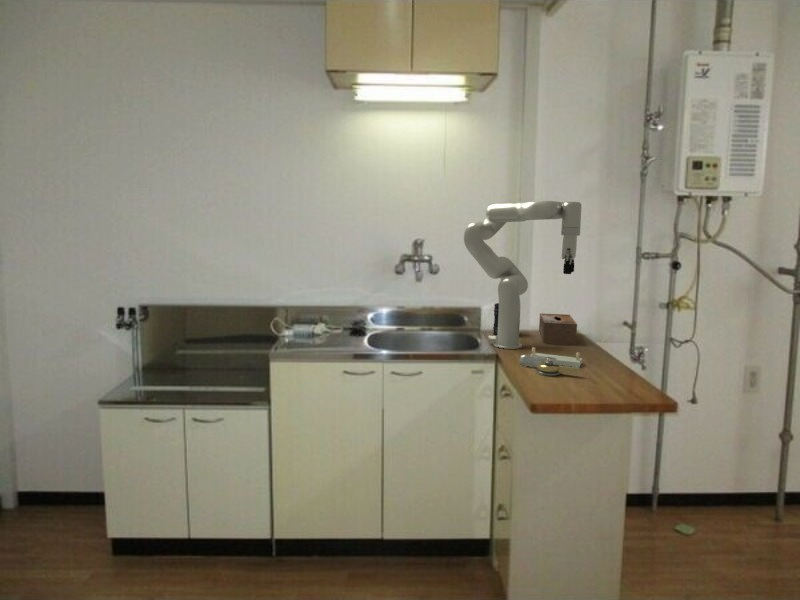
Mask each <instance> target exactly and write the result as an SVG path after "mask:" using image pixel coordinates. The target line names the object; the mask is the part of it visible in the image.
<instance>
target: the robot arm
mask: <svg viewBox="0 0 800 600" xmlns="http://www.w3.org/2000/svg"><path fill="white" fill-rule="evenodd" d="M485 215H486V218H484V219H483V221H474V222H471V223H470V224H468V225H467V226H466V228H465V230H464V233H463V241H464V242H463V243H464V245H465V248H466V249H467V251H468V253H470V255H471V256H472V257H473V259H475V261H476V262H477V263H478V265H479V266H480V267H481V268H482V270H483V271H484V272H485V273H486V274H487V276H489V278H492V279H496V280H497V279H500V280H499V283H498V285H497V297H498V303H499V314H498V335H496V336H495V335H491V334H490V335H488V337H487V339H488V340H489V341H494V342H493V346H494V347H496V348H498V347H499V348H498V349H503V348H504V349H505V350H506V349H507V350H517V349H522V348H523V344H522V343H521V342H520V327H521V326H520V323H521V298H520V296H522V295H523V294H525V293H526V292H527V291H528V288H529V283H528V280H527V278H526V276H525V275H524V274H523V273H522V271H521V270H520V269H519V268H518V267H517V266H516V264H515V263H514V262H513V261H512V260H511V259H509V258H508V257H506V256H499V255H497V254H496V252H494V250H493V248H491V247H490V246H489V245H488V244H487V243H486V242H485V241H488V240H490V239H492V238H493V237H494V236H495V235H496V234H497V233H498V232H499V231H500V230H501V229H502V228H503V227H504V226H505V225H506V223H515V222H516V223H517V222H518V223H520V222H521V223H522V222H526V221H538V220H539V221H540V220H544V221H545V220H560V219H561V230H560V231H561V236H563V238H562V247H561V248H562V249H561V259H562V260H563V261H564V262H563V273H562V274H564V275H571V274H572V273H574V272H575V258H576V256H577V254H576V253H577V246H578V245H577V242H578V236H581V222H582V221H581V220H582V203H581V202H580V201H565V202H563V201H556V200H555V201H554V200H546V201H545V200H543V201H540V200H539V201H512V202H511V201H509V202H496V203H492V204H489V205H488V206H487V208H486V210H485Z"/></svg>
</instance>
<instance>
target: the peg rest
mask: <svg viewBox="0 0 800 600" xmlns="http://www.w3.org/2000/svg"><path fill="white" fill-rule="evenodd" d="M530 355H536V356H544V357H553V358H556V364H558V365H561V366H562V365H563V366H569V367H570V366H572V367H578V368H580V367H581V365H582V363H583V358H582V357H581V352H579V351H578V352H576V353H575V357H573V356H567V355H556V354H548V353H547V354H546V353H541V352H540V353H538V352H536V347H531V354H530Z"/></svg>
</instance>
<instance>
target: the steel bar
mask: <svg viewBox="0 0 800 600" xmlns="http://www.w3.org/2000/svg"><path fill="white" fill-rule="evenodd" d="M547 360H548V361H553V363H555V364H556V358H553V357H544V356H536V355H531V354H524V353H523V354H520V355H519V366H520V365H522V366H521V367H524V366H529V367H528V368H532V367H538V364H539V363H543V362H545V361H547Z"/></svg>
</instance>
